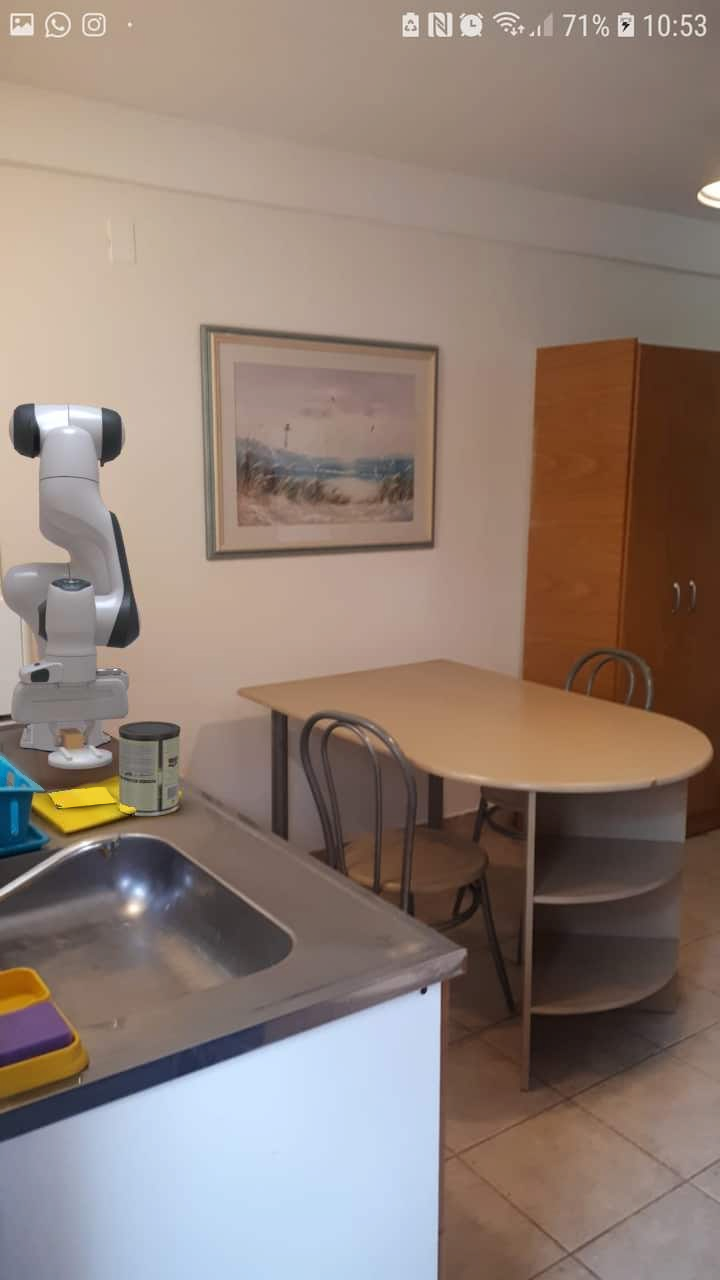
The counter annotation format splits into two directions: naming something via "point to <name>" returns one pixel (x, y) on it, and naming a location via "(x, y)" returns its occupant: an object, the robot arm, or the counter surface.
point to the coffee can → (149, 767)
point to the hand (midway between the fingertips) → (71, 745)
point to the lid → (77, 752)
